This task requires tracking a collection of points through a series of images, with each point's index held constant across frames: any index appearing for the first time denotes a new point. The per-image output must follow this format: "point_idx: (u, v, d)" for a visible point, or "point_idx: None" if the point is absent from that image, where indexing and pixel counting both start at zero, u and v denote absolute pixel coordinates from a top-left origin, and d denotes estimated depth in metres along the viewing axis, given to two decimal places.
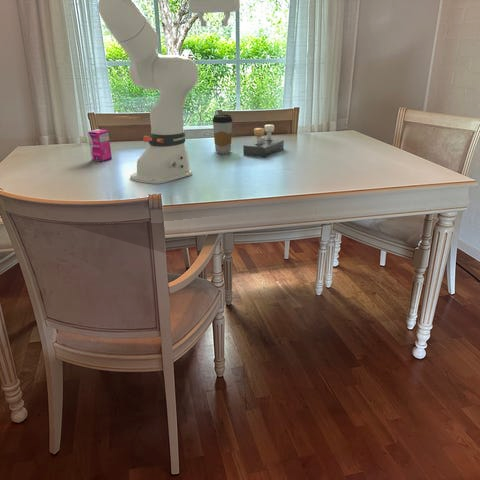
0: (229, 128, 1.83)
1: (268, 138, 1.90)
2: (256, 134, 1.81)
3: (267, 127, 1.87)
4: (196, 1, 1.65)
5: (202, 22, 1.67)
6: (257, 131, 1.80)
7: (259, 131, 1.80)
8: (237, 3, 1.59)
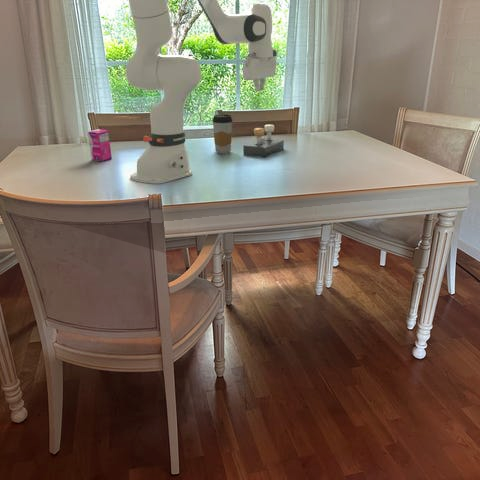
0: (229, 128, 1.83)
1: (268, 138, 1.90)
2: (256, 134, 1.81)
3: (267, 127, 1.87)
4: (255, 69, 1.66)
5: (259, 87, 1.73)
6: (257, 131, 1.80)
7: (259, 131, 1.80)
8: None
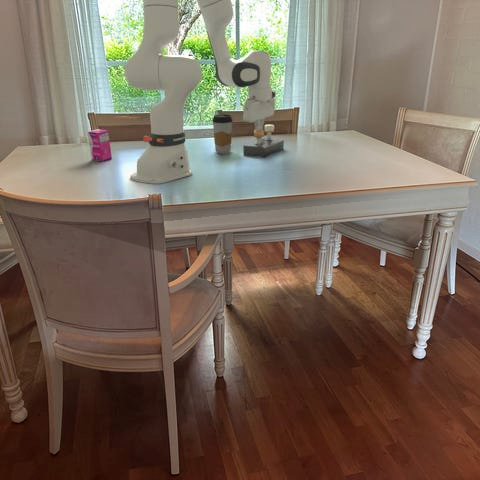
0: (229, 128, 1.83)
1: (268, 138, 1.90)
2: (256, 136, 1.81)
3: (267, 127, 1.87)
4: (255, 111, 1.73)
5: (260, 127, 1.80)
6: (257, 133, 1.80)
7: (259, 133, 1.80)
8: None
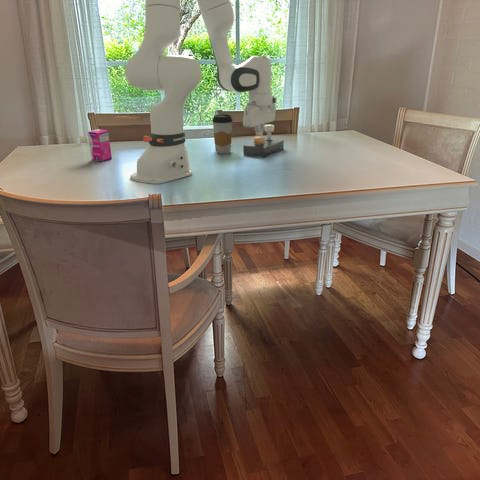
0: (229, 128, 1.83)
1: (268, 138, 1.90)
2: (256, 143, 1.82)
3: (267, 127, 1.87)
4: (255, 116, 1.73)
5: (260, 132, 1.80)
6: (257, 140, 1.81)
7: (259, 140, 1.81)
8: None
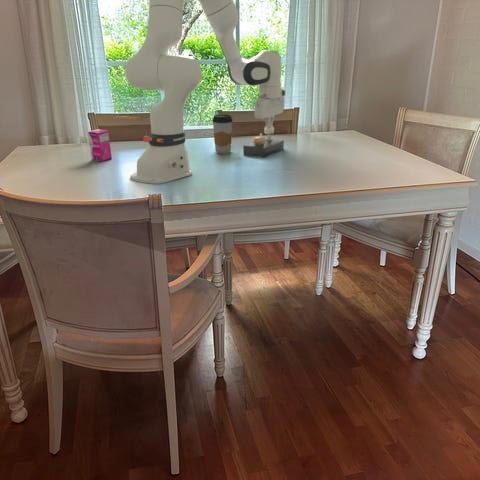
0: (229, 128, 1.83)
1: (268, 140, 1.90)
2: (256, 143, 1.82)
3: (267, 129, 1.87)
4: (265, 109, 1.80)
5: (270, 124, 1.87)
6: (257, 140, 1.81)
7: (259, 140, 1.81)
8: None
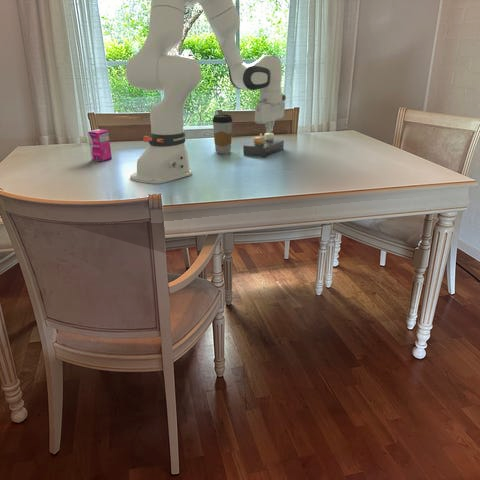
0: (229, 128, 1.83)
1: None
2: (256, 143, 1.82)
3: (267, 135, 1.88)
4: (266, 113, 1.80)
5: (270, 129, 1.88)
6: (257, 140, 1.81)
7: (259, 140, 1.81)
8: None
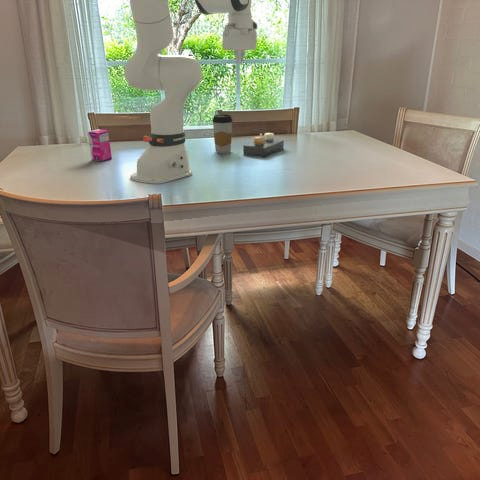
0: (229, 128, 1.83)
1: None
2: (256, 143, 1.82)
3: (267, 135, 1.88)
4: (234, 39, 1.68)
5: (240, 59, 1.76)
6: (257, 140, 1.81)
7: (259, 140, 1.81)
8: None
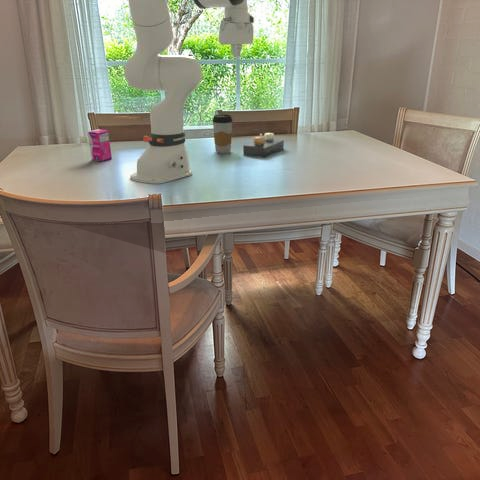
0: (229, 128, 1.83)
1: None
2: (256, 143, 1.82)
3: (267, 135, 1.88)
4: (231, 33, 1.67)
5: (237, 53, 1.75)
6: (257, 140, 1.81)
7: (259, 140, 1.81)
8: None
